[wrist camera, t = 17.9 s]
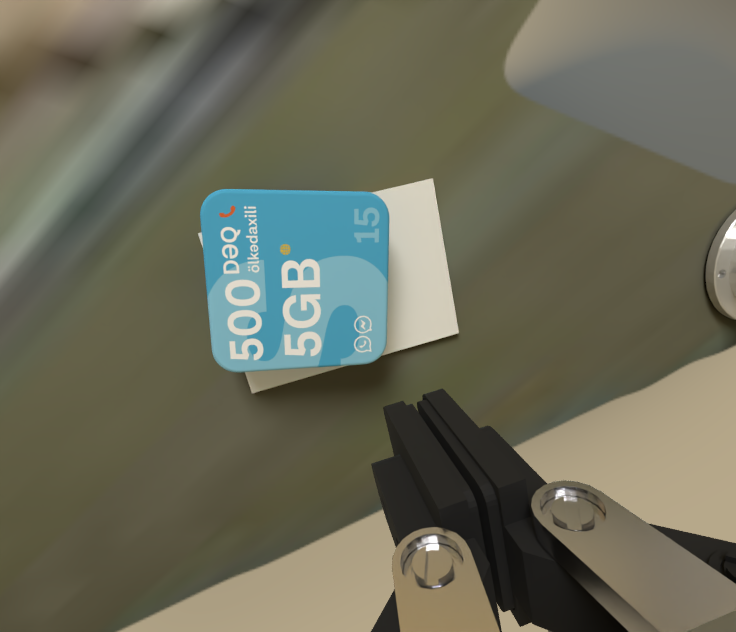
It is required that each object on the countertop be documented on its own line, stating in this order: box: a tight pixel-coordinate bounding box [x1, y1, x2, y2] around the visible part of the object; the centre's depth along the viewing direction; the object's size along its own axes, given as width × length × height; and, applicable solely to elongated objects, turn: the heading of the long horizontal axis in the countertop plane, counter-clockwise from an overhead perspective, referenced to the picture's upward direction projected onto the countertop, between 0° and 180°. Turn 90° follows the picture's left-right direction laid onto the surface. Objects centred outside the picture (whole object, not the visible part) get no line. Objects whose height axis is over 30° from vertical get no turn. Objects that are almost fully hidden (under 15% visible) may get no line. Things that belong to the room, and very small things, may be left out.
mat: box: [198, 179, 459, 393], centre depth 33 cm, size 18×13×1 cm
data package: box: [200, 189, 389, 372], centre depth 29 cm, size 12×4×12 cm
